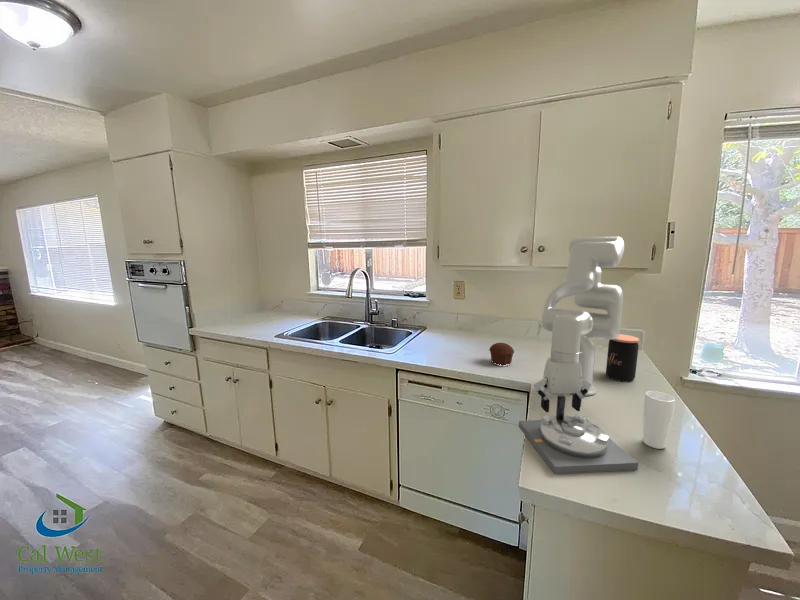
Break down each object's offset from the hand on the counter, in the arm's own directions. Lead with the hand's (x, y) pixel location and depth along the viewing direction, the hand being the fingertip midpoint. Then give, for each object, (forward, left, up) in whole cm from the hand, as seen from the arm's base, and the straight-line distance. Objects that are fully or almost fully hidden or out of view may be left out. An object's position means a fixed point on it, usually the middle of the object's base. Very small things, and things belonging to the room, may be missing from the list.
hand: (560, 409), depth 100 cm
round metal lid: (+7, 0, -5) cm, 9 cm away
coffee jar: (-39, +49, -8) cm, 63 cm away
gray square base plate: (+7, 0, -8) cm, 10 cm away
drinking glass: (+8, +24, -8) cm, 27 cm away
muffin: (-60, +4, -8) cm, 61 cm away
